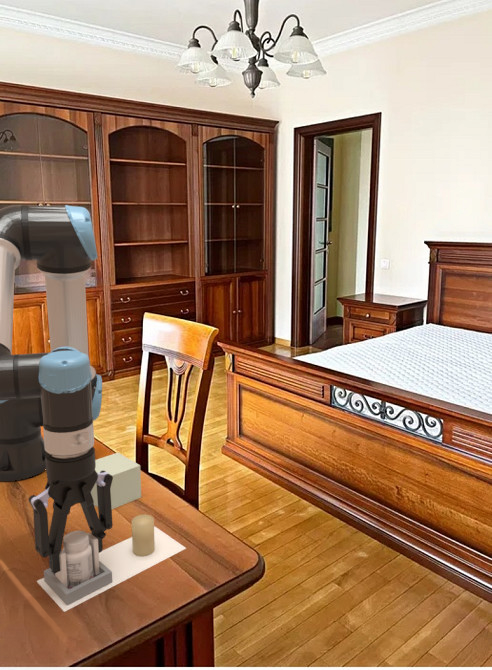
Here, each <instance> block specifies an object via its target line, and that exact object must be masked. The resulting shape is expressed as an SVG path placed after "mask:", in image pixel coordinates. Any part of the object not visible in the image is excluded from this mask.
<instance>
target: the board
mask: <svg viewBox="0 0 492 670" xmlns="http://www.w3.org/2000/svg"><path fill="white" fill-rule="evenodd" d="M184 550H187V547H185V546H184V545H182V544H181V543H180V542H178V541H177V540H176V539H173V538H172V537H171V536H170V535H168V534H167V533H165V532H164V531H162V530H161V529H160V528H158V527H157V526H155V518H154V517H153V515H149V514H138V515H136V516H134V517H133V518H132V519H131V537H129V538H127V539H125V540H122V541H120V542H118V543H116V544H114V545H112V546H109V547H107V548H104V549H102V552H100V553H99V570H100V573H99V574H97V575H95V574H94V573H93V574H94V578H92V579H90V580H88V581H85V582H83V583H81V584H79V585H77V586H75V587H73V588H71V589H68V588H67V587H66V586H65V585H64V584H63V583H62V582H61V581H60V580H59V579H58V578H57V577H56V576H55V573H54V572H53V571H52V570H51V569H50V567H48V568H46V569H45V570H43V577H42V578H40V579H38V580H36V582H37V584H38V585H39V586H40V587H41V588H42V590H44V592H45V593H46V594H47V595H48V596H49V597H50V598H51V600H53V601H54V602H55V604H57V605H58V607H59V608H60V609H61V610H62V612H64V613H66V612H67V611H69V610H71V609H73V608H75V607H76V606H78V605H80V604H83V603H84V602H86V601H88V600H90V599H92V598H94V597H96V596H98V595H100V594H102V593H103V592H105V591H108V590H109V589H112V588H114V587H115V586H117V585H119V584H120V583H123V582H125V581H127V580H129V579H131V578H133V577H134V576H136V575H138V574H140V573H142V572H144V571H146V570H148V569H149V568H152V567H154V566H155V565H157V564H160V563H161V562H163V561H165V560H167V559H169V558H170V557H172V556H175V555H176V554H178V553H180V552H182V551H184Z"/></svg>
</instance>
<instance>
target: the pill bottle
mask: <svg viewBox="0 0 492 670" xmlns="http://www.w3.org/2000/svg"><path fill="white" fill-rule="evenodd" d="M62 547H63V548H62V549H61V550H62V551H63V552H64V553H65V554H66V569H67V584H68V589H71V588H73V587H75V586H77V585H79V584H81V583H83V582H85V581H88V580H90V579H92V578H94V574H93V561H92V548H91V545H90V543H89V537H88V534H87V531H84V530H74V531H71V532H68V533H67V534H64V536H63V542H62Z"/></svg>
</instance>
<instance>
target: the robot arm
mask: <svg viewBox="0 0 492 670" xmlns="http://www.w3.org/2000/svg"><path fill="white" fill-rule="evenodd" d="M94 234H95V233H94V228H93V223H92V217H91V213H90V211H89V210H88V209H87V208H86V207H84V206H74V205H68V204H65V205H64V204H63V205H61V204H59V205H58V204H57V205H56V204H55V205H52V204H49V205H43V204H42V205H39V204H38V205H37V204H36V205H31V204H29V205H23V204H12V205H8V206H4V207H3V208H0V482H16V481H15V480H17V481H22V480H21V479H23V480H26V478H27V479H30V478H29V477H31V478H33V477H32V476H34V477H36V476H38V475H37V474H39V473H41V472H42V473H44V472H46V478H47V479H46V485H45V488H44V491H42V492H41V493H39V494H38V495H35V494H31V495H30V496H29V498H28V503H29V504H30V506H31V508H32V512H33V513H32V515H33V529H34V547H35V551H36V552H37V553H38V554H39V555H40V556H41V557H42V558H45V559H46V558H47V557H48V565H49V567H48V568H50V569H51V570H52V571H53V572H54V573H55V576H56V577H57V578H58V579H59V580H60V581H61V582H62V583H63V584H64V585H65V586H66V587H67V588H68V584H67V569H66V554H65V553H64V552H63V551H62V550H63V549H62V547H63V538H64V536H65V531H66V526H67V519H68V516H69V515H70V513H71V508H72V507H73V506H75V505H76V504H80V506H81V508H82V511H83V514H84V517H85V520H86V523H87V525H88V528H89V531H90V532H88V533H87V534H88V537H89V543H90V545H91V548H92V561H93V573H94V574H95V575H97V574H99V573H100V570H99V553H100V552H102V551H103V550H104V549H103V546H104V545H103V539H105V538H106V535H107V533H106V531H107V530H108V531H109V530H112V528H113V525H114V524H113V509H112V507H111V492H110V488H111V484H112V480H113V476H112V475H110V474H109V473H107V472H106V471H101V472H100V473H97V472H96V471H95V467H96V464H95V460H96V450H95V448H94V445H95V431H94V421H96V420H97V419H98V417H100V414H101V408H102V402H103V401H102V399H103V394H102V393H103V379H102V376H101V375H100V374H97V372H96V369H95V367H94V366H92V365H91V363H90V362H91V361H90V357H89V355H90V354H89V339H88V337H89V336H88V318H87V317H88V316H87V312H88V311H87V297H86V294H87V293H86V292H87V291H86V290H87V289H86V274H87V273H88V272H89V271H90V270H91V269H92V262H93V261H96V260H97V259H98V258H99V257H98V252H97V246H96V239H95V235H94ZM21 261H35V262H36V269H37V270H38V271H39V272H40V273H41V274H42V275H44V280H45V281H44V282H45V283H44V284H45V294H46V295H45V297H46V306H47V307H46V309H47V320H48V331H49V332H48V333H49V345H50V352H37V353H21V354H13V331H14V330H13V327H14V326H13V324H14V323H13V322H14V305H15V304H14V299H15V276H16V275H15V272H16V269H17V268H18V267H19V266H20V264H21ZM42 428H43V436H42ZM45 469H46V470H45ZM44 470H45V471H44ZM43 471H44V472H43ZM42 473H41V474H42ZM35 475H36V476H35ZM39 475H40V474H39ZM95 483H96V484H97V498H98V507H97V509H96V506H95V507H94V504H93V503H94V501H93V498H92V495H91V491H92V489H93V487H94V485H95ZM49 498H51V499H52V500H53V503H52V509H53V510H52V511H53V513H52V517H51V520H50V521H51V524H50V528H49V519H48V517H49V516H48V511H47V508H48V507H49ZM97 511H98V512H97Z"/></svg>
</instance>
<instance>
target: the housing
mask: <svg viewBox="0 0 492 670" xmlns="http://www.w3.org/2000/svg"><path fill="white" fill-rule="evenodd" d="M95 464H96V467H95V471H96V472H97V473H100V472H101V471H106V472H107V473H109V474H110V475H112V476H113V480H112V484H111V488H110V492H111V507H112V510H114V509H116V508H118V507H122V506H123V505H125V504H128V503H131V502H134V501H135V500H138V499H141V498H142V478H141V476H142V475H141V473H142V472H141V465H140V464H138V463H137V462H135V461H134V460H132V459H130V458H128V457H126V456H125V455H123V454H121V452H116V453H112V454H110V455H106V456H103V457H100V458H98V459H95ZM91 495H92V498H93V501H94V503H93V504H94V507H95V508H96V507H97V508H98V498H97V484H96V483H95V485H94V487H93V489H92V491H91Z"/></svg>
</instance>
